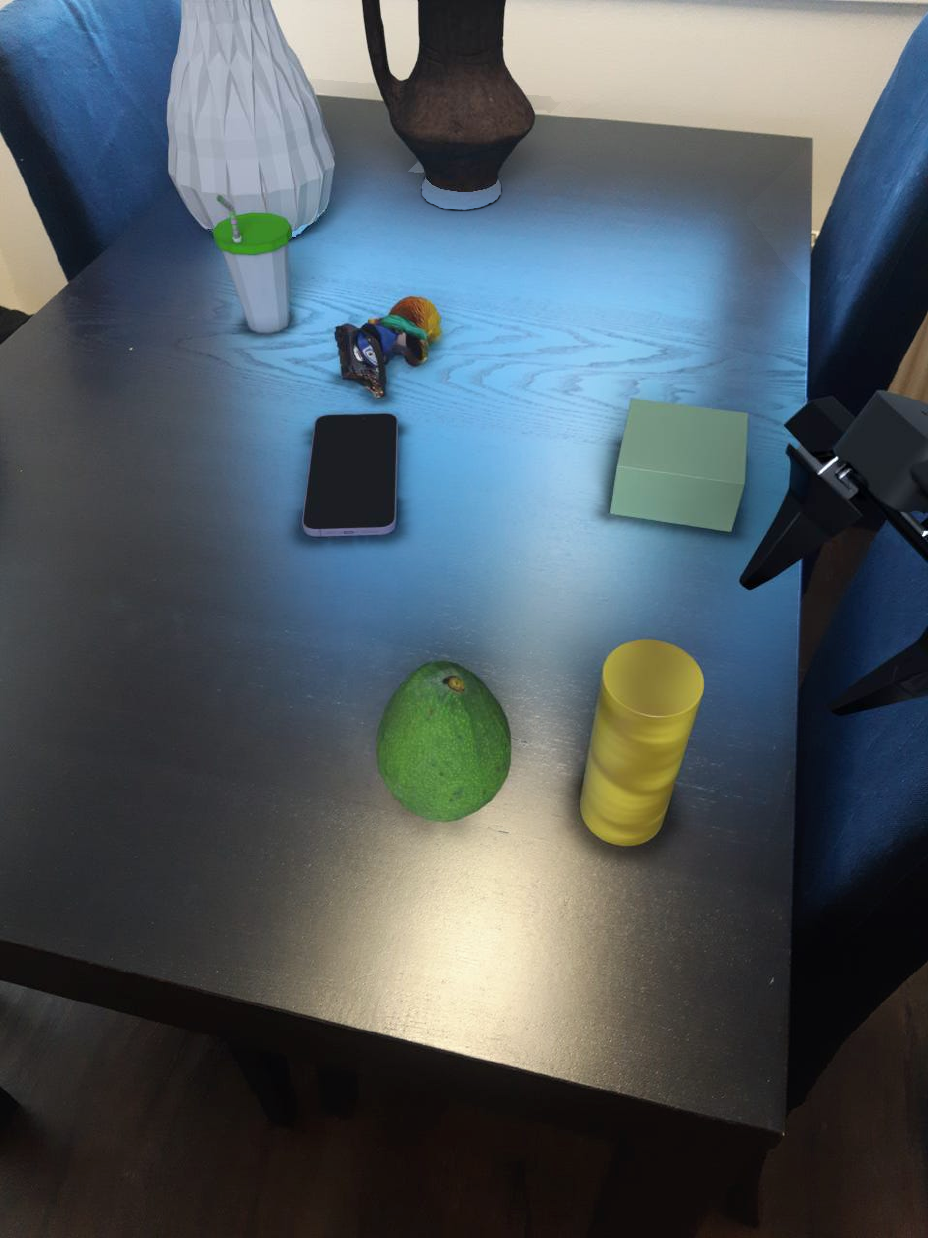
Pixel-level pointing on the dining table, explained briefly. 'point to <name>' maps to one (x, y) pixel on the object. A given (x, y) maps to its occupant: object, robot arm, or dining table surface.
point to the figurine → (388, 342)
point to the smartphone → (352, 476)
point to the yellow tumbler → (638, 739)
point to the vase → (244, 118)
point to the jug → (453, 92)
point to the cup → (258, 265)
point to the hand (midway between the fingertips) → (785, 644)
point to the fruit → (443, 743)
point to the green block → (681, 464)
